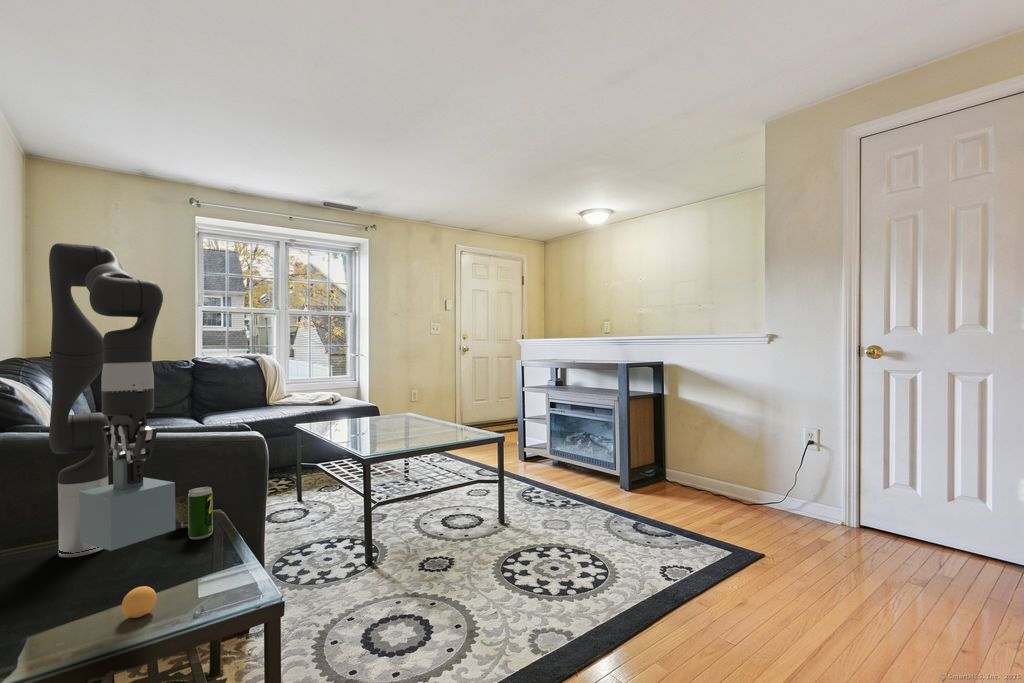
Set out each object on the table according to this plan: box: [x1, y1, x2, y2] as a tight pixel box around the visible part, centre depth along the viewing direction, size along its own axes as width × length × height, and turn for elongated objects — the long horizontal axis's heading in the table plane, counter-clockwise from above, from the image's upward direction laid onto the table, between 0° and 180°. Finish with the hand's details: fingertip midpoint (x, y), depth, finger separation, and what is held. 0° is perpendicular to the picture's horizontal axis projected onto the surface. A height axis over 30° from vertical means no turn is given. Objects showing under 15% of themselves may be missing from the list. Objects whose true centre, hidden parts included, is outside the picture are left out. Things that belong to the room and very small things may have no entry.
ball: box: [121, 585, 158, 619], centre depth 87 cm, size 5×5×5 cm
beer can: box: [187, 486, 214, 540], centre depth 126 cm, size 5×5×12 cm
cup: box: [175, 495, 188, 529], centre depth 133 cm, size 8×7×8 cm
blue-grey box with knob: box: [79, 458, 177, 552], centre depth 88 cm, size 10×10×14 cm
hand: (129, 481), depth 88 cm, fingers closed on blue-grey box with knob, 3 cm apart
